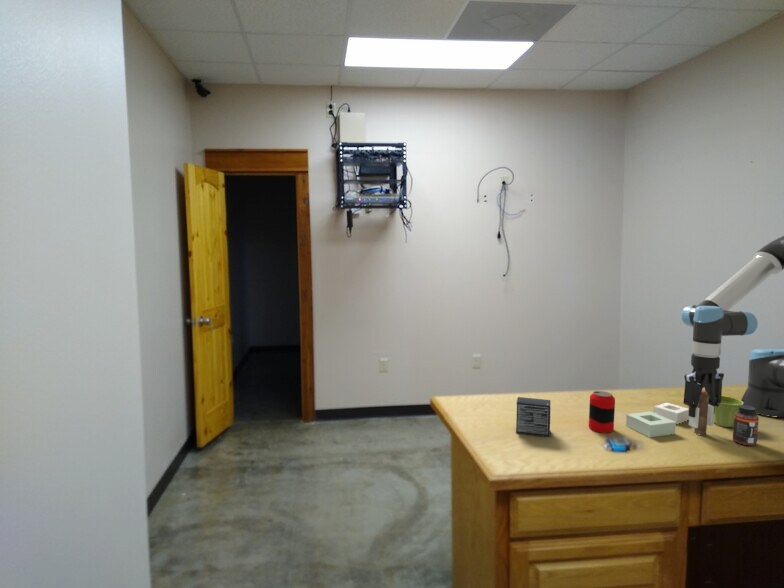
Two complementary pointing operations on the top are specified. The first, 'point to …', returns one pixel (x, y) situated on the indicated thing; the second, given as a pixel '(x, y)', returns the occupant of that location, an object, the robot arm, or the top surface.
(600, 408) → the soda can
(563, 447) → the top surface
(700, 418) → the brown cylinder
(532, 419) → the small box
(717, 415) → the plant pot
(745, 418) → the supplement bottle
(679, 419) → the white hollow block
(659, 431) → the pale open box
